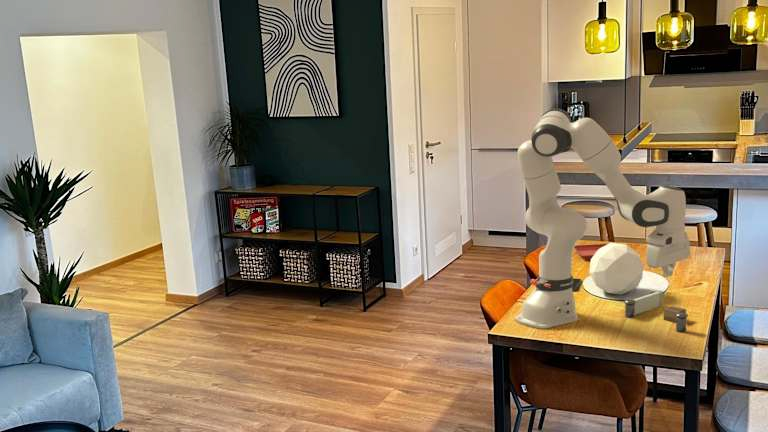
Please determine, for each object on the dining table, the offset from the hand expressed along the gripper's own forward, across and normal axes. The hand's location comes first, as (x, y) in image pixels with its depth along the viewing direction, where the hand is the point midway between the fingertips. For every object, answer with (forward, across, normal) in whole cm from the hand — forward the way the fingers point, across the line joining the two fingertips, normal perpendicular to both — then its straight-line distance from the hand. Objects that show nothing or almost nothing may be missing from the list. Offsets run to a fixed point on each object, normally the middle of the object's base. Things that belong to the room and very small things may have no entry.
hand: (667, 276), depth 231 cm
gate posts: (+16, +3, -2) cm, 17 cm away
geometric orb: (+16, -16, -30) cm, 38 cm away
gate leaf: (+16, -6, -11) cm, 20 cm away
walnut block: (+16, -4, +1) cm, 17 cm away
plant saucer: (+16, -56, -68) cm, 89 cm away
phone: (+17, -11, -48) cm, 53 cm away
